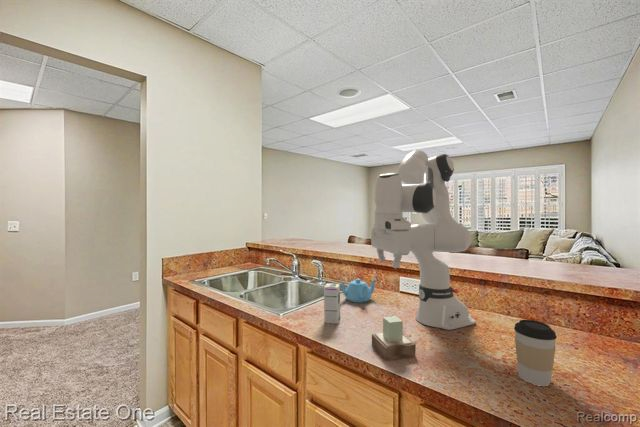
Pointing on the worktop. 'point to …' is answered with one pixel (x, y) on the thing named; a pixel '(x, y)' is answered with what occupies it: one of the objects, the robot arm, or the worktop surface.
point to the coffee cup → (535, 351)
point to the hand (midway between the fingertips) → (388, 264)
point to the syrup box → (332, 303)
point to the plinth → (393, 347)
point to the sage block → (392, 328)
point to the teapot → (358, 291)
